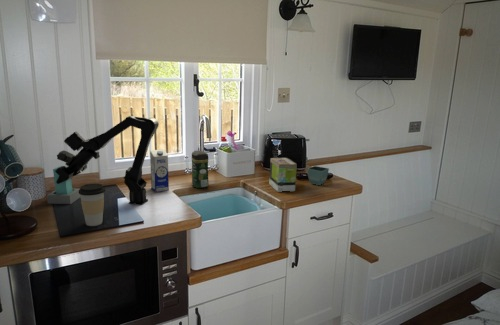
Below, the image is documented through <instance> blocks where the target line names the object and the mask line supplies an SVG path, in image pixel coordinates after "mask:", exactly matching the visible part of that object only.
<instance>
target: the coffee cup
mask: <svg viewBox="0 0 500 325" xmlns="http://www.w3.org/2000/svg"><path fill="white" fill-rule="evenodd" d="M79 189H80V190H79V194H80V203H81V208H82V213H83V217H84V221H85V225H86V226H89V227H96V226H100V225H101V224H103V220H104V219H103V218H104V216H103V215H104V209H105V208H104V205H105V204H104V203H105V202H104V201H105V196H104V195H105V194H104V192H106V189H105V187H104V186H103V184H101V183H87V184H83V185H80V188H79Z"/></svg>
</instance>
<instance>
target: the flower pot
mask: <svg viewBox="0 0 500 325" xmlns="http://www.w3.org/2000/svg"><path fill="white" fill-rule="evenodd" d="M329 170H330V168H329V167H328V168H327V167H323V166H317V165H315V166H311V167H309V168H307V177H308V180H309V183H310V184H311V183H312V184H311V185H313V184H317V185H316V186H318V185H320V186H322V185H324V184H325V182H326V181H327V179H328V174H329ZM323 183H324V184H323ZM321 184H322V185H321Z"/></svg>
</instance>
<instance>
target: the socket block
mask: <svg viewBox="0 0 500 325" xmlns="http://www.w3.org/2000/svg"><path fill="white" fill-rule="evenodd" d="M72 190H73V191H72V192H71V193H69V194H56V189H55V190H53V191H51V192H48V194H46V200H47V204H51V205H52V204H54V205H57V204H58V205H72V204H73V203H74V202H75V201H77V200H78V199H81V197H80V194H79V190H80V188H73V187H72Z"/></svg>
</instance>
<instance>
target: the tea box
mask: <svg viewBox="0 0 500 325" xmlns="http://www.w3.org/2000/svg"><path fill="white" fill-rule="evenodd" d="M269 159H270V162H269V163H270V164H269V180H268V182H269V185H270V186H271V187H272V188H273V189H274V190H275V191H276V192H277V193H278V192H279V193H283V192H282V191H290V192H295V191H296V181H297V167H298V166H297V163H296V162H294V161H293V160H292V159H290V158H288V157H271V158H269Z"/></svg>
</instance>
